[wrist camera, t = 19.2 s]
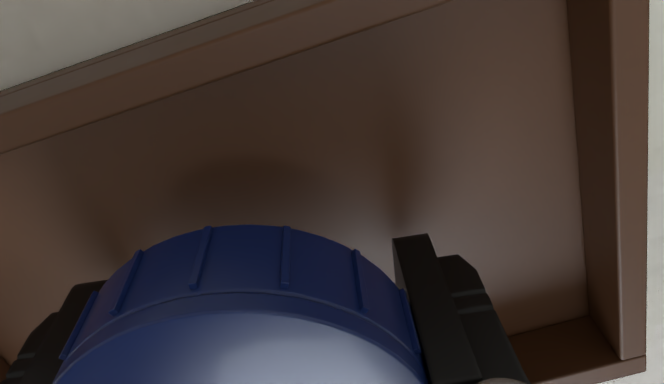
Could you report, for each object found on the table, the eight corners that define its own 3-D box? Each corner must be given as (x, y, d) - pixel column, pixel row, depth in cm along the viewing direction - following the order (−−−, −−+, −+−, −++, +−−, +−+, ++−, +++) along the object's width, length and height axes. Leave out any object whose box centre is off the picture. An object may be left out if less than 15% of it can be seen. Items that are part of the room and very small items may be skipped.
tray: (601, 308, 14) (647, 371, 12) (90, 443, 15) (63, 517, 14) (578, -115, 9) (653, -114, 7) (-189, 158, 10) (-293, 216, 8)
